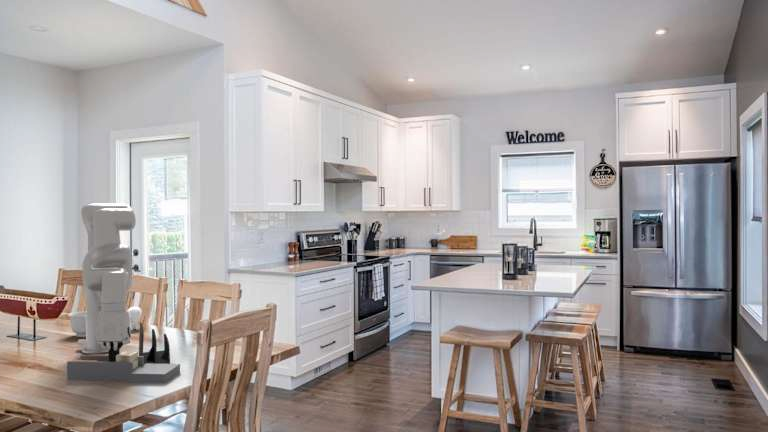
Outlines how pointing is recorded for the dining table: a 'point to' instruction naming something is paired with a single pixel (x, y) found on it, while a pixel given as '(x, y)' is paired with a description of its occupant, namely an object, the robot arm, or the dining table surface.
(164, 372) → the grey stepped platform
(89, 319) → the robot arm
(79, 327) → the teacup
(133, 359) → the birch block
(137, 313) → the light bulb
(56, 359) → the dining table surface
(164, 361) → the letter holder
